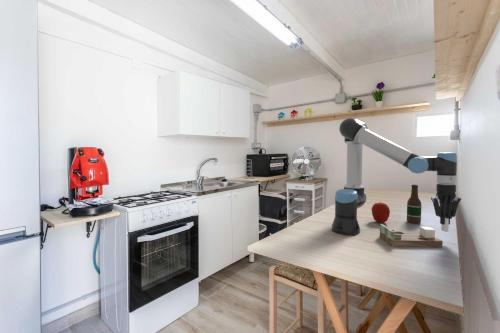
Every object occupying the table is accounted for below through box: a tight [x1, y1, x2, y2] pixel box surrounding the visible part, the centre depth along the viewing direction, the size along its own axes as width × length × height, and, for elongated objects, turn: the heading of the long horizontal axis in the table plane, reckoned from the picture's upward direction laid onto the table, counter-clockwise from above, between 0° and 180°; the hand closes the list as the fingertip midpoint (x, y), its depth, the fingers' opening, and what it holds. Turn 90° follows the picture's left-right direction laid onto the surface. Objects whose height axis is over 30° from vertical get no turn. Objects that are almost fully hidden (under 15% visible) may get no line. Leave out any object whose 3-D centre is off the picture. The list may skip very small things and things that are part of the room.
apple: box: [371, 202, 391, 224], centre depth 154 cm, size 10×10×14 cm
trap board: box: [379, 223, 444, 248], centre depth 122 cm, size 13×23×7 cm, turn 86°
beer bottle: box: [406, 184, 422, 225], centre depth 153 cm, size 8×8×24 cm
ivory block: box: [419, 226, 436, 238], centre depth 121 cm, size 4×4×4 cm
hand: (444, 230), depth 120 cm, fingers closed
